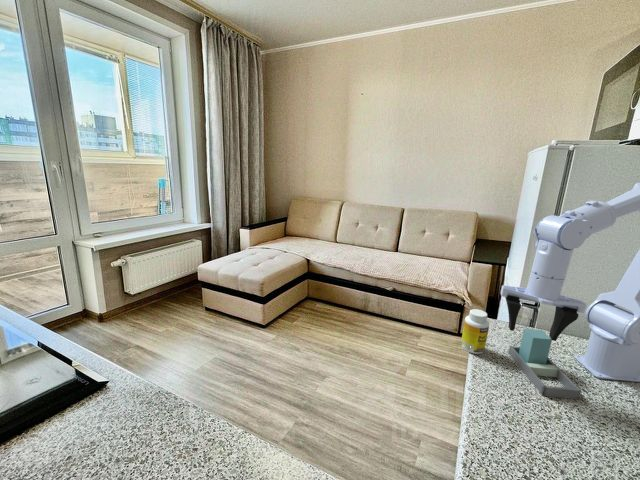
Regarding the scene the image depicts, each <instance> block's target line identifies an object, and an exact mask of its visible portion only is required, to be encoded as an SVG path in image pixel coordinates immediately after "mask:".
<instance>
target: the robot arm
mask: <svg viewBox="0 0 640 480" xmlns="http://www.w3.org/2000/svg"><path fill="white" fill-rule="evenodd" d="M635 212H639V213H640V181H639V182H636V183H635V184H634V185H633V187H632V189H631V190H629V191H626V192H624V193H622V194H620V195H619V196H615V197H614V198H612V199H610V200H608V201H606V202H604V201H602V200H600V201H599V200H592V199H590V200H588V201H586V202H585V204H584V205H582V206H579V207H577V208H575V209H573V210H570V209H569V210H566V211H565V212H564V213H563V214H561V215H559V216H558V215H554V214H553V215H547V216H546V217H543V218H541V220H540V221H539V222H538V223H537V225H536V226H535V227H534V228H533V236H534V238H535V245H534V247H535V249H536V250H535V255H534V259H533V263H532V265H531V266H532V267H531V269H530V275H529V277H528V282H527V285H526V287H520V286H511V285H510V286H509V285H503V284H502V285H501V289H500V296H501V297H504V298H505V301H506V306H507V311H508V312H507V313H508V328H509V331H512V332H514V331H515V328H516V323H517V318H518V314H520V311H521V308H522V305H521V300H522V301H523V300H524V301H528V302H533V303H538V304H544V305H548V306H552V307H555V311H554V316H553V322H552V325H551V327H550V330H549V335H548V336H549V337H550V338H551V339H552V341H554V342H557V339H558V338H559V337H560V335H561V334H562V332H564V330H566V328H567V327H569V326H570V325H572V323H574V322H576V321H577V320H578V319H579V316H580V315H579V313H583V314H585V320H586V321H587V323H589V324H588V328H590V329H591V331H590V335H589V339H588V342H587V345H586V350H585V353H584V355H579V354H578V355H577V354H574V355H573V357H574V359H576V360H577V361H578V362H579V363H580V364H581V365H582V366H583V367H584V368H586V369H587V370H588V371H589V372H590V373H591V374H592V375H593V376H594V377H596V378H597V379H606V380H615V381H626V382H637V383H640V248H639V249H638V251H637V252H636V255H634V258H633V260H632V261H631V263H630V264H629V266H628V268H627V270H626V271H625V272H624V275H623V277H622V278H621V279H620V281H619V283H618V285H617V286H616V288H615V289H614V290H613V291H609V292H604V293H603V292H602V293H599V294H598V295H597V298H596V299H595V300H594V301H593V302H592V303H590V304H589V305H588V306H587V303H586V302H585V301H583V300H581V299H577V298H576V299H575V298H573V297H568V296H566V295H565V296H564V295H561V293H562V289H563V287H564V282H565V279H566V276H567V272H568V270H569V266H570V262H571V260H572V255H573V253H574V249H578V248H580V247H581V246H582V245H583V244H584V243H585V241H586V240H587V239H589V238H590V236H592V235H594V234H596V233H599V232H601V231H603V230H606V229H608V228H611V227H612V226H613V225H615V223H616V222H617V218H621V217H623V216H626V215H630V214H631V213H635ZM618 306H619V307H618ZM586 307H587V308H586ZM626 309H627V310H626Z"/></svg>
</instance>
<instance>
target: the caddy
mask: <svg viewBox="0 0 640 480" xmlns="http://www.w3.org/2000/svg"><path fill="white" fill-rule="evenodd" d="M519 350H520V346H514V345H513V346H511V345H510V346H509V349H508V354H509V355H510V357H511V358H512V359H513V362H515V363H516V364H517V365H518V367H519V368H520V369H521V371H522V372H523V373H524V374H525V376H526V377H527V378H528V379H529V381H530V382H531V383H532V384H533V386H534V387H535V388H536V389H537V391H538V392H539V393H540V394H541V396H543V397H553V398H566V399H572V400H573V399H574V400H575V399H576V400H579V399H580V396H581V393H582V390H581V389H580V388H579V387H578V386H577V385H576V384H575V383H574V382H573V381H572V380H571V379H570V378H569V377H568V376H567V375H566V374H565V373H564V372H563V370H561V369H560V368H559V366H558V365H556V364H555V363H554V362H553V361H552V360H551V359H550V357H548V358H547V362H546V365H545V364H534V363H526V362H525V361H524V360H523V359H522V358H521V356H520V355H519ZM539 376H541V377H542V376H543V377H547V378H548V377H550V378H556V379H557V380H558V381H559V382H560V383H561V384H562V385H563V387H562V386H561V387H560V386H549V385H545V383H544V382H543V381H542V380H541V379H540V378H539Z"/></svg>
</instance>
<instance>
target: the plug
mask: <svg viewBox="0 0 640 480" xmlns="http://www.w3.org/2000/svg"><path fill="white" fill-rule="evenodd" d="M522 331H523V333H522V335H521V341H520V345H519V347H520V350H519V355H520V356H521V358H522V359H523V360H524V361H525V362H526V363H534V364H545V365H546V362H547V358H549V353H550V349H551V346H552V341H553V340H552V339H551V338H550V336H549V335H548V334H547V333H546V332H545V331H543V329H533V328H523V330H522Z"/></svg>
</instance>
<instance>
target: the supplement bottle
mask: <svg viewBox="0 0 640 480" xmlns="http://www.w3.org/2000/svg"><path fill="white" fill-rule="evenodd" d="M489 329H490V322H489V321H488V313H487V312H486V311H484V310H482V309H477V308H474V309H470V310H469V314H468V315H466V317H465V318H464V323H463V329H462V335H461V339H460V340H461V341H460V345H461V347H462V349H463V350H465V351H466V352H469V353H470V354H475V355H479V354H483V353H484V352H485V349H486V344H487V339H488V334H489ZM470 346H471V348H470Z"/></svg>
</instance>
